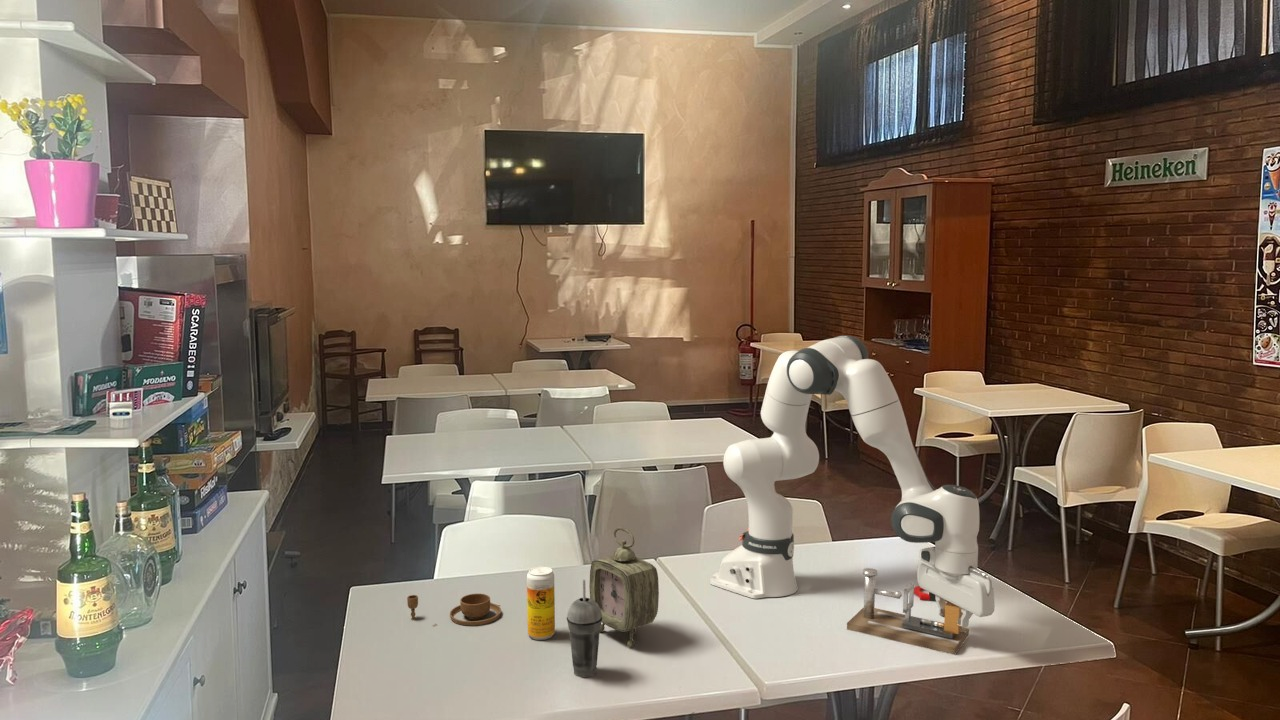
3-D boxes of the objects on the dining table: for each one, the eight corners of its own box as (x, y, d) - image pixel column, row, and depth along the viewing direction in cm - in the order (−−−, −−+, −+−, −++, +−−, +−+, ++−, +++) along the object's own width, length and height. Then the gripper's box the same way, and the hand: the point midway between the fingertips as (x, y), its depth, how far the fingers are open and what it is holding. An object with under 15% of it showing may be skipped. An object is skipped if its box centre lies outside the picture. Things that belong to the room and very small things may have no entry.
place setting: (476, 637, 202) (475, 612, 202) (403, 623, 210) (402, 599, 209) (516, 609, 218) (515, 585, 218) (447, 597, 226) (446, 574, 225)
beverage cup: (602, 663, 188) (602, 571, 185) (602, 680, 180) (602, 584, 178) (567, 664, 187) (567, 571, 185) (566, 680, 180) (565, 584, 178)
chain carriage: (901, 627, 201) (903, 590, 200) (908, 619, 206) (910, 583, 205) (956, 640, 195) (958, 601, 194) (963, 631, 199) (964, 593, 198)
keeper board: (846, 629, 205) (847, 621, 205) (864, 611, 215) (865, 604, 215) (954, 654, 192) (955, 646, 192) (968, 635, 202) (969, 627, 202)
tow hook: (910, 588, 231) (916, 600, 222) (912, 539, 230) (918, 549, 221) (944, 590, 230) (951, 602, 221) (946, 541, 229) (953, 551, 220)
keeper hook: (859, 617, 208) (861, 571, 207) (864, 613, 210) (865, 567, 209) (898, 626, 203) (899, 579, 202) (902, 621, 206) (904, 574, 204)
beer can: (529, 642, 198) (528, 576, 196) (525, 631, 204) (524, 567, 202) (557, 639, 200) (556, 574, 198) (552, 628, 206) (551, 565, 204)
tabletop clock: (589, 631, 204) (589, 524, 201) (620, 621, 210) (620, 516, 207) (630, 652, 193) (630, 539, 190) (661, 641, 199) (662, 531, 196)
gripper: (1003, 573, 188) (1000, 637, 189) (935, 544, 206) (933, 602, 208) (980, 577, 185) (977, 642, 187) (913, 548, 204) (911, 606, 205)
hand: (953, 621), depth 197 cm, fingers closed on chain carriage, 4 cm apart
